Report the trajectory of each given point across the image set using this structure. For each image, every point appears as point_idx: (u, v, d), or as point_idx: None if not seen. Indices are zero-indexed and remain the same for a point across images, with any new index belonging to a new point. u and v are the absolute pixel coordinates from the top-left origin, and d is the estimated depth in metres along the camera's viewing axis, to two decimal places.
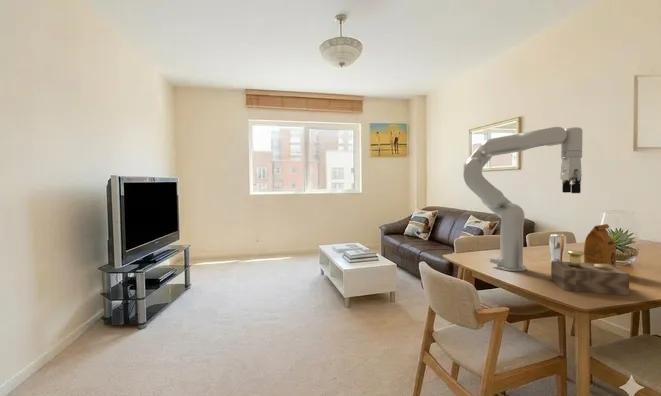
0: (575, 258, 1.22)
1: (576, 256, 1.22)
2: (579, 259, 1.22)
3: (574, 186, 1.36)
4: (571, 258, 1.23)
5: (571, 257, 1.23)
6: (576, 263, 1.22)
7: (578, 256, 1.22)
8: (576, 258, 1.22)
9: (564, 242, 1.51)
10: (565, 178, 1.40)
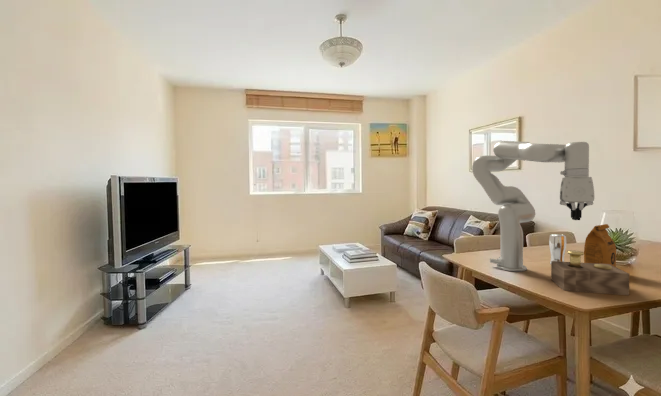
0: (575, 258, 1.22)
1: (576, 256, 1.22)
2: (579, 259, 1.22)
3: (580, 212, 1.21)
4: (571, 258, 1.23)
5: (571, 257, 1.23)
6: (576, 263, 1.22)
7: (578, 256, 1.22)
8: (576, 258, 1.22)
9: (564, 242, 1.51)
10: (584, 200, 1.19)
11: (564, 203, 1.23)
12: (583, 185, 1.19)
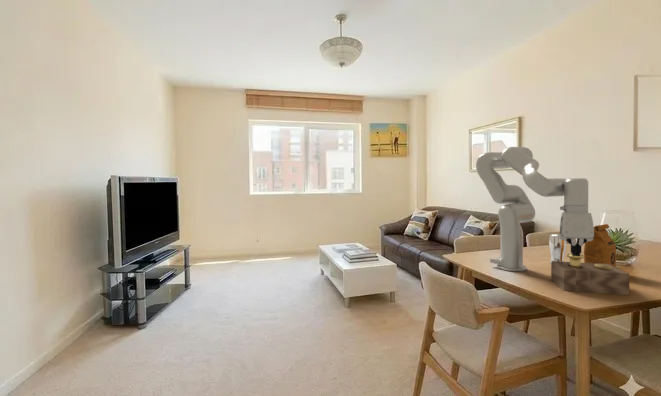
0: (575, 261, 1.22)
1: (576, 259, 1.22)
2: (579, 262, 1.22)
3: (580, 248, 1.22)
4: (571, 261, 1.23)
5: (571, 260, 1.23)
6: (576, 266, 1.22)
7: (578, 259, 1.22)
8: (576, 261, 1.22)
9: (564, 242, 1.51)
10: (584, 236, 1.19)
11: (564, 238, 1.23)
12: (583, 221, 1.19)
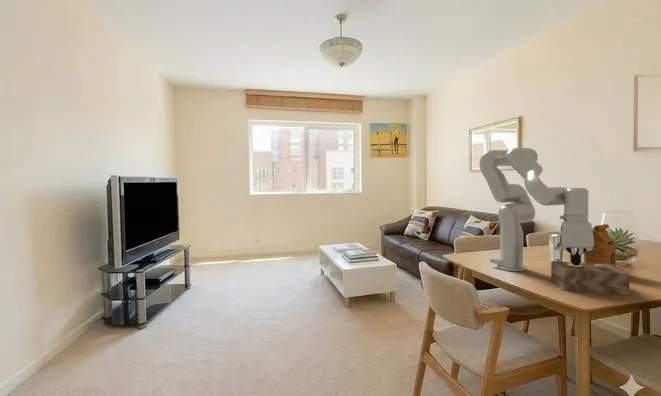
0: None
1: None
2: None
3: (579, 257, 1.22)
4: None
5: None
6: None
7: None
8: None
9: None
10: (583, 246, 1.20)
11: (564, 247, 1.24)
12: (582, 231, 1.20)
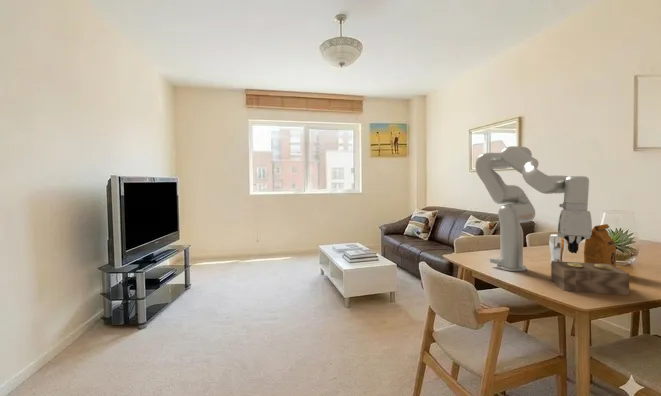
0: None
1: None
2: None
3: (577, 245, 1.23)
4: None
5: None
6: None
7: None
8: None
9: (564, 242, 1.51)
10: (581, 234, 1.20)
11: (562, 235, 1.24)
12: (581, 219, 1.20)
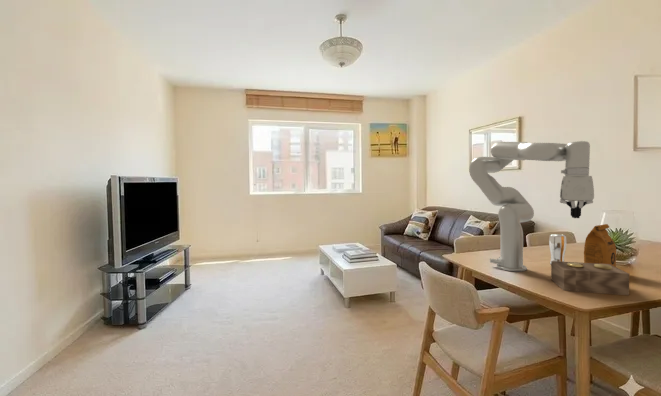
0: None
1: None
2: None
3: (580, 210, 1.24)
4: None
5: None
6: None
7: None
8: None
9: (564, 242, 1.51)
10: (583, 199, 1.21)
11: (564, 201, 1.25)
12: (583, 184, 1.21)
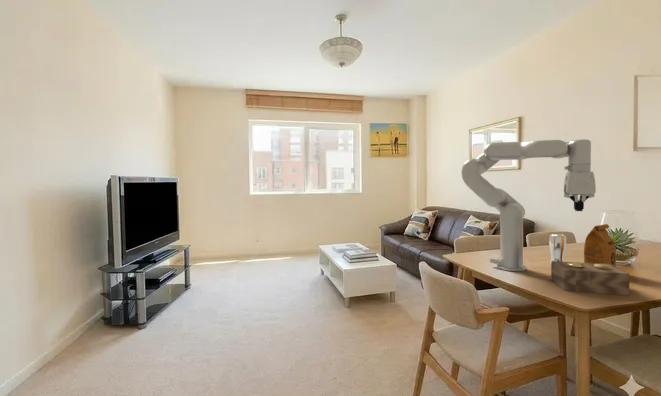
0: None
1: None
2: None
3: None
4: None
5: None
6: None
7: None
8: None
9: (564, 242, 1.51)
10: (586, 193, 1.30)
11: (568, 196, 1.34)
12: (585, 179, 1.30)
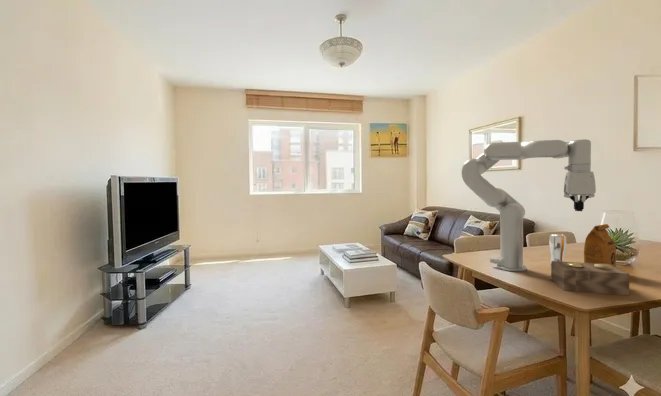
0: None
1: None
2: None
3: None
4: None
5: None
6: None
7: None
8: None
9: (564, 242, 1.51)
10: (586, 193, 1.30)
11: (568, 196, 1.34)
12: (585, 179, 1.30)
